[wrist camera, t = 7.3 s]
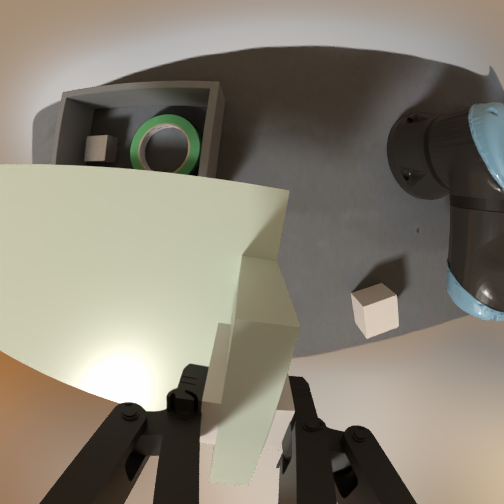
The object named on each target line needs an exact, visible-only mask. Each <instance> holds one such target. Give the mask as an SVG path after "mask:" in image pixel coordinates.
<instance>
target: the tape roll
mask: <svg viewBox="0 0 504 504" xmlns="http://www.w3.org/2000/svg"><path fill="white" fill-rule="evenodd" d="M164 128H177V129H180V130H181V131H182V132H183V133H184V134H185V136H186V138H187V141H188V154H187V157H186V159H185V161H184V163H183V164H182V165H181V166H180V167H179V168H178V169H177V170H176V171H174V172H172V173H176V174H184V175H192V174H193V173H194V172H195V170H196V169H197V167H198V165H199V163H200V156H201V148H202V139H201V136H200V134H199V132H198V131H197V129H196V128H195V127H194V126H193V125H192V124H191V123H190V122H189V121H188V120H186V119H185V118H183V117H181V116H178V115H172V114H165V115H159V116H156V117H154V118H152V119H150V120H148V121H147V122H145V123H144V124H143V125H142V126H141V127H140V128H139V129H138V131H137V132H136V134H135V136H134V138H133V140H132V144H131V149H130V159H131V163H132V166H133V169H136V170H147V171H153V170H151V169H150V167H149V166H148V164H147V162H146V159H145V148H146V145H147V143H148V141H149V139H150V138H151V136H152V135H153V134H155V133H156V132H157V131H159V130H161V129H164Z"/></svg>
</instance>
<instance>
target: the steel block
mask: <svg viewBox="0 0 504 504" xmlns="http://www.w3.org/2000/svg"><path fill="white" fill-rule="evenodd" d="M118 139H119V138H115V137H112V136H109V135H99V136H87V140H86V148H85V157H84V161H87V162H116V155H117V147H118Z"/></svg>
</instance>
